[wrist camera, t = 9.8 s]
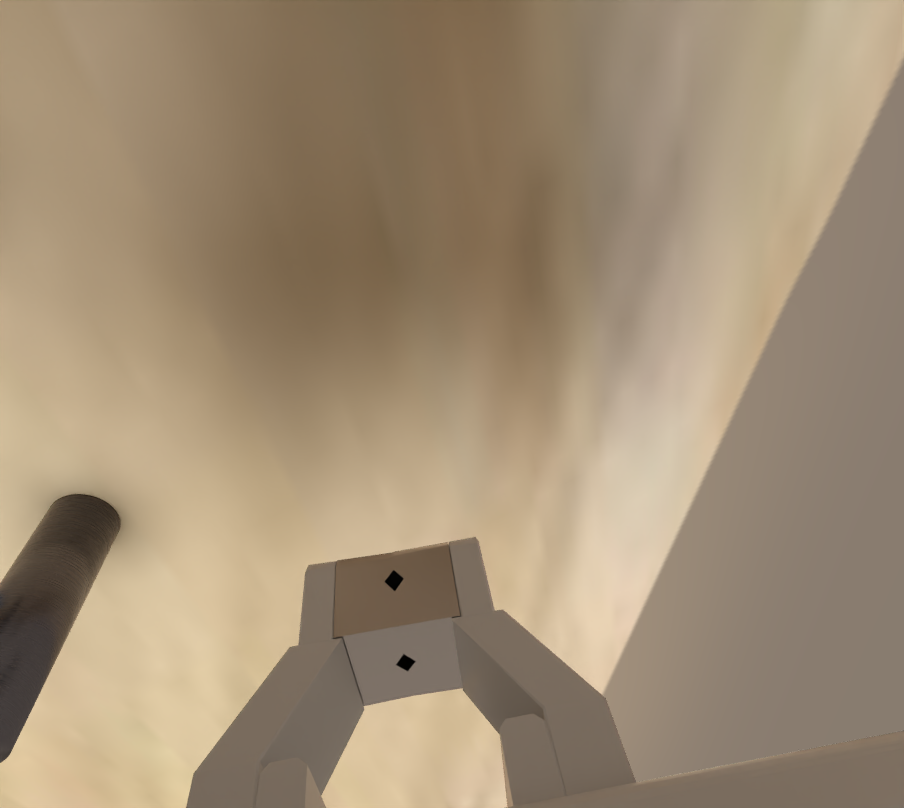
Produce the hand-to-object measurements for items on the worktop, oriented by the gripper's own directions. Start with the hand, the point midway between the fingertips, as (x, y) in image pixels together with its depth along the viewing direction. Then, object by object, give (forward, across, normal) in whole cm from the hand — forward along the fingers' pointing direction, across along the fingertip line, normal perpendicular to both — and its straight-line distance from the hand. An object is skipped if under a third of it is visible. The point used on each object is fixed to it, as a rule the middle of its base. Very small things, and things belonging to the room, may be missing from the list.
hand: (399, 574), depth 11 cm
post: (+12, +13, +7) cm, 19 cm away
